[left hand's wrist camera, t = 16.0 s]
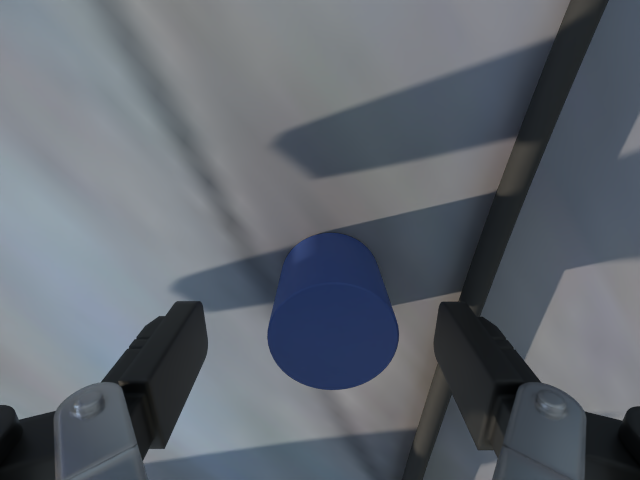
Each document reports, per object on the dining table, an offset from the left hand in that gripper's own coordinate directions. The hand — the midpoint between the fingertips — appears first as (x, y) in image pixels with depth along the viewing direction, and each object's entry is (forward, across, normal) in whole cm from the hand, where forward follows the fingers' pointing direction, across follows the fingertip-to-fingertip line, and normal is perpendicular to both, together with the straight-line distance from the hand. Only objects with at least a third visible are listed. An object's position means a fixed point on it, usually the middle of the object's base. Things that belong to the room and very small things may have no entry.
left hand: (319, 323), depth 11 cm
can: (+3, 0, 0) cm, 3 cm away
